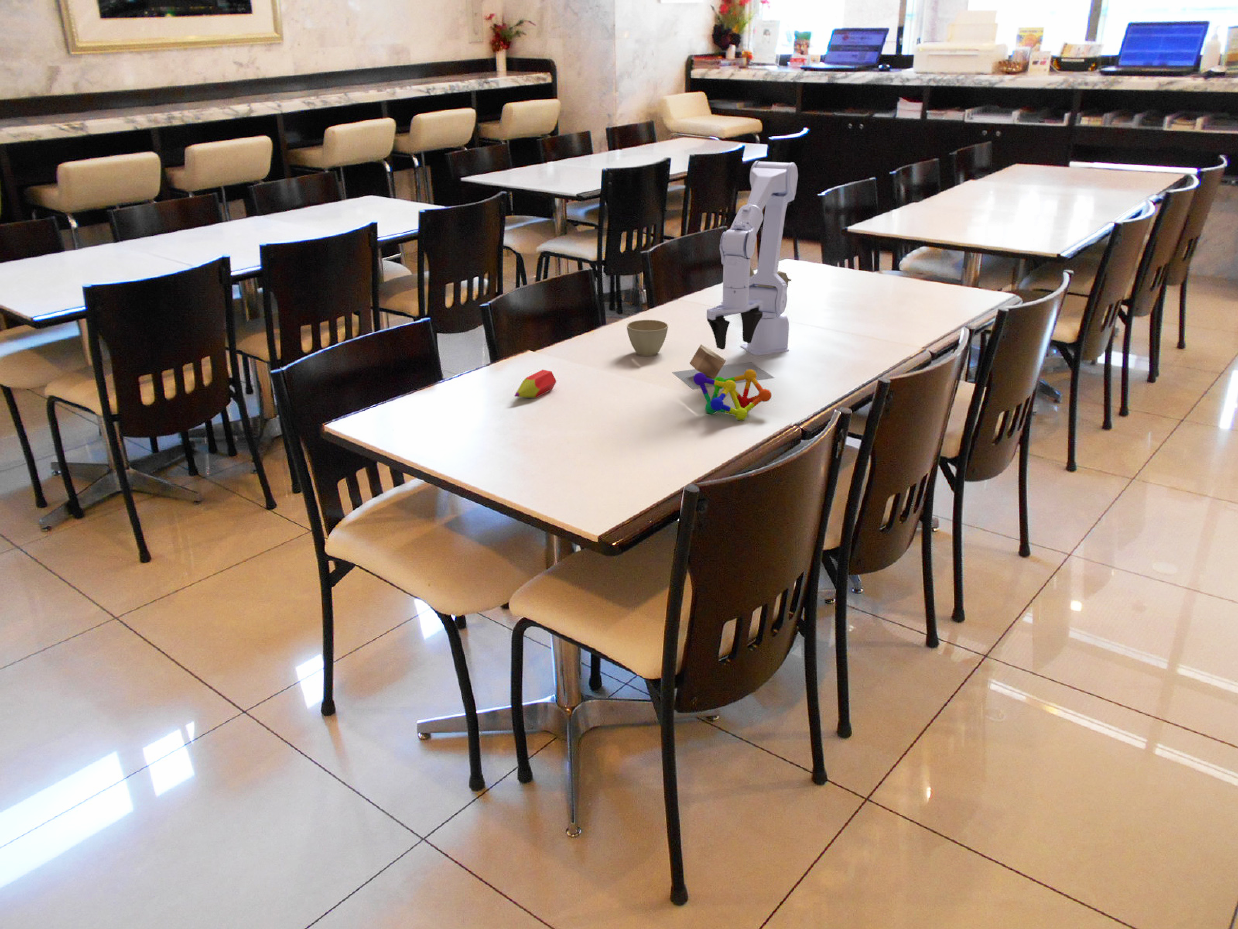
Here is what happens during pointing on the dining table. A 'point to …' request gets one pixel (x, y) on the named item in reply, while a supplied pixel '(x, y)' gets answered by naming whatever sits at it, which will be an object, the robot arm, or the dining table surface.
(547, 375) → the pencil
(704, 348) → the walnut cube
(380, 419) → the dining table surface
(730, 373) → the mat
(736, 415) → the decorative model
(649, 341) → the flower pot
